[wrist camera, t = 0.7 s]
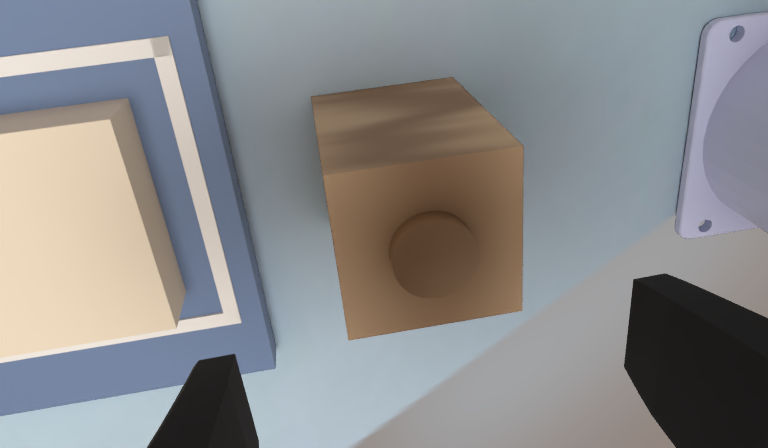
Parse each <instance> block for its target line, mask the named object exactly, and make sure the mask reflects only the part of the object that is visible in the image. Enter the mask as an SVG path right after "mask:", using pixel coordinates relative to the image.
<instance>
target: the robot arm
mask: <svg viewBox="0 0 768 448" xmlns="http://www.w3.org/2000/svg"><path fill="white" fill-rule="evenodd" d="M735 26H736V27H737V32H736V34H735V36H734V37H733V38H732V39H729V34H730V32H731V30H732V29H733V28H734V27H735ZM704 220H705V223H704V224H703V225H702V226H700V227H699V225H700V223H701V222H702V221H704ZM754 228H761V229H762V230H764V231H765V232H767V233H768V11H767V12H760V13H752V14H745V15H737V16H730V17H722V18H717V19H714V20H712V21H710V22H709V23H708V24H707V25H706V26H705V28H704V29H703V32H702V35H701V40H700V48H699V55H698V62H697V69H696V76H695V84H694V91H693V98H692V105H691V112H690V120H689V127H688V134H687V141H686V148H685V155H684V163H683V170H682V177H681V184H680V191H679V199H678V206H677V213H676V220H675V231H676V232H677V234H679V235H680V236H681V237H683V238H685V239H693V238H699V237H705V236H711V235H718V234H723V233H730V232H735V231H741V230H748V229H754ZM624 367H625V369H626V371H627V373H628V375H629V376H630V378H631V380H632V382H633V384H634V386H635V387H636V389H637V391H638V393H639V395H640V396H641V398H642V399H643V401H644V403H645V405H646V406H647V408H648V409H649V411H650V413H651V415H652V416H653V417H654V419H655V420H656V421H657V423H658V424H659V426H660V427H661V428H662V430H663V431H664V432H665V434H666V435H667V436H668V438H669V439H670V440H671V442H672V443H673V444H674V445H675V447H676V448H768V318H766V317H764V316H762V315H759V314H757V313H755V312H753V311H751V310H748V309H746V308H744V307H742V306H739V305H737V304H735V303H733V302H731V301H729V300H726V299H724V298H722V297H719V296H717V295H715V294H713V293H711V292H709V291H706V290H704V289H702V288H699V287H697V286H695V285H693V284H690V283H688V282H686V281H683V280H681V279H678V278H676V277H673V276H670V275H668V274H660V275H655V276H649V277H644V278H638V279H634V280H633V290H632V299H631V308H630V318H629V326H628V335H627V345H626V354H625V363H624ZM147 448H259V440H258V436H257V433H256V429H255V425H254V422H253V418H252V414H251V411H250V407H249V403H248V400H247V396H246V392H245V389H244V385H243V381H242V378H241V374H240V370H239V366H238V363H237V359H236V355H235V354H230V355H224V356H219V357H214V358H208V359H203V360H199V361H198V362H197V363H196V364H195V366H194V367H193V369H192V371H191V373H190V374H189V376H188V378H187V380H186V382H185V384H184V385H183V387H182V389H181V391H180V393H179V394H178V396H177V398H176V400H175V402H174V403H173V405H172V407H171V409H170V410H169V412H168V414H167V415H166V417H165V419H164V421H163V422H162V424H161V426H160V427H159V429H158V431H157V432H156V434H155V435H154V437H153V439H152V440H151V442H150V444H149V445H148V447H147Z"/></svg>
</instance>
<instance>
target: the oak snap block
mask: <svg viewBox="0 0 768 448" xmlns="http://www.w3.org/2000/svg"><path fill="white" fill-rule="evenodd" d="M311 100H312V107H313V114H314V120H315V127H316V134H317V141H318V147H319V154H320V161H321V168H322V174H323V181H324V187H325V194H326V200H327V206H328V213H329V219H330V225H331V232H332V238H333V244H334V251H335V257H336V263H337V270H338V276H339V282H340V289H341V295H342V301H343V308H344V314H345V320H346V327H347V333H348V339H349V340H354V339H360V338H366V337H372V336H377V335H383V334H389V333H395V332H401V331H407V330H412V329H418V328H424V327H430V326H436V325H442V324H447V323H453V322H459V321H465V320H471V319H477V318H483V317H488V316H494V315H500V314H506V313H512V312H518V311H522V267H523V145H522V144H521V143H520V142H519V141H518V140H517V139H516V138H515V137H514V136H513V135H512V134H511V133H510V132H509V131H508V130H507V129H505V128H504V127H503V126H502V125H501V124H500V123H499V122H498V121H497V120H496V119H495V118H494V117H493V116H492V115H491V114H490V113H489V112H488V111H487V110H486V109H485V108H484V107H483V106H482V105H481V104H480V103H479V102H478V101H477V100H476V99H475V98H474V97H473V96H472V95H471V94H469V93H468V92H467V91H466V90H465V89H464V88H463V87H462V86H461V85H460V84H459V83H458V82H457V81H456V80H455V79H454V78H453V77H450V78H442V79H435V80H428V81H421V82H413V83H406V84H399V85H391V86H384V87H377V88H369V89H362V90H355V91H348V92H340V93H333V94H326V95H318V96H311Z"/></svg>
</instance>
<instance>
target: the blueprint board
mask: <svg viewBox="0 0 768 448" xmlns="http://www.w3.org/2000/svg"><path fill="white" fill-rule="evenodd" d="M230 354H235V355H236V359H237V363H238V366H239V370H240V374H246V373H252V372H258V371H264V370H270V369H275V368H276V345H275V341H274V336H273V332H272V328H271V323H270V319H269V315H268V310H267V306H266V301H265V297H264V293H263V288H262V284H261V280H260V275H259V271H258V267H257V262H256V258H255V253H254V249H253V245H252V240H251V236H250V232H249V227H248V223H247V218H246V214H245V210H244V205H243V201H242V197H241V192H240V188H239V184H238V179H237V175H236V170H235V166H234V162H233V157H232V153H231V149H230V144H229V140H228V135H227V131H226V127H225V122H224V118H223V114H222V109H221V105H220V101H219V96H218V92H217V87H216V83H215V79H214V74H213V70H212V66H211V61H210V57H209V53H208V48H207V44H206V39H205V35H204V31H203V26H202V22H201V18H200V13H199V9H198V4H197V0H0V416H4V415H10V414H15V413H21V412H27V411H33V410H38V409H44V408H50V407H56V406H62V405H67V404H73V403H79V402H85V401H90V400H96V399H102V398H108V397H114V396H119V395H125V394H131V393H137V392H142V391H148V390H154V389H160V388H166V387H171V386H177V385H183V384H185V382H186V380H187V378H188V376H189V374H190V373H191V371H192V369H193V367H194V366H195V364H196V363H197V362H198V361H199V360H203V359H208V358H214V357H219V356H224V355H230Z"/></svg>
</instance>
